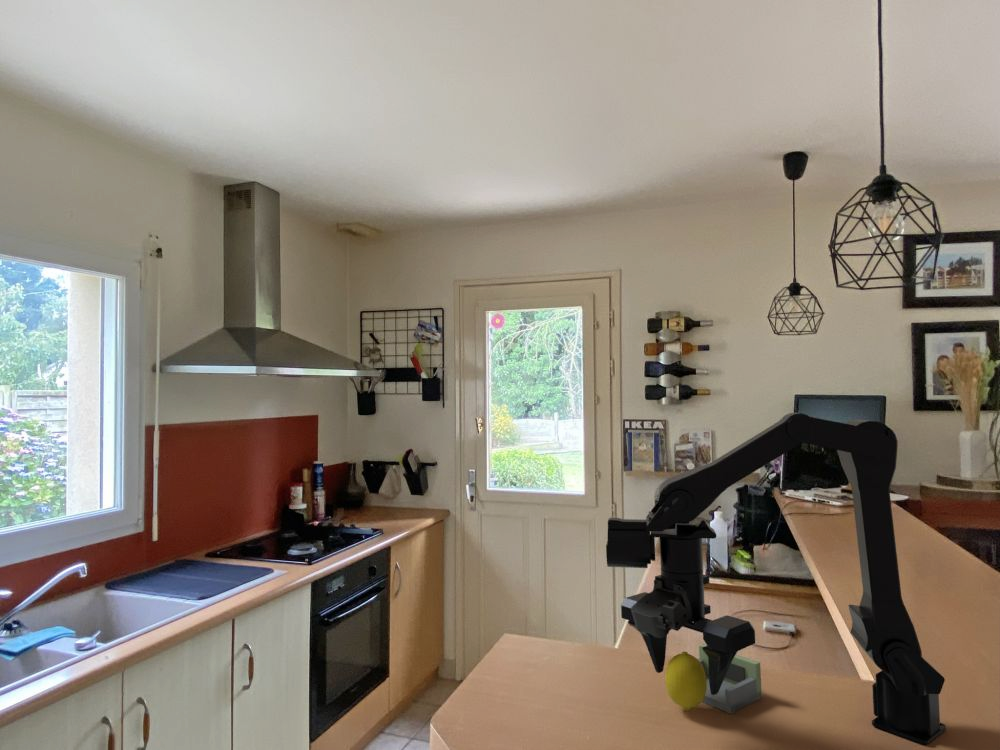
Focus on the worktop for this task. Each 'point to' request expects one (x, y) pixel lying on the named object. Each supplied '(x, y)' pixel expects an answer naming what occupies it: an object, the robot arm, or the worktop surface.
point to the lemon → (686, 681)
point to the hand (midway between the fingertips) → (685, 682)
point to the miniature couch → (734, 683)
